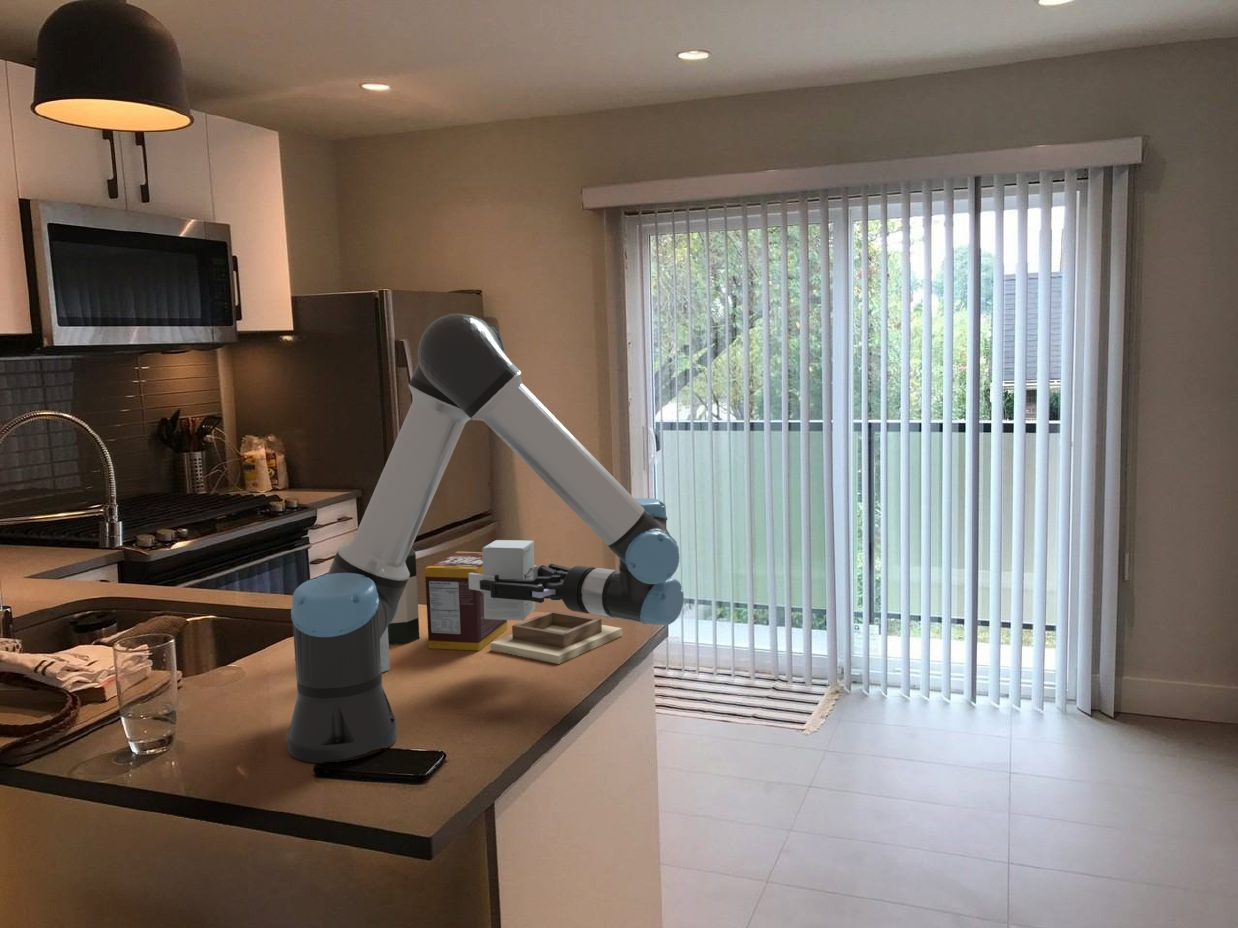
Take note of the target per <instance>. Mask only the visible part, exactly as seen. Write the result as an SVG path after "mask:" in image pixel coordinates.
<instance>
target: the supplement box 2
mask: <svg viewBox="0 0 1238 928" xmlns="http://www.w3.org/2000/svg"><path fill="white" fill-rule="evenodd" d="M534 541H535V540H528V539H527V540H524V539H523V540H521V539H520V540H519V539H518V540H516V539H515V540H514V539H512V540H510V539H496V540H494V541H492V542H490V543H489V544H487V545H485V546H483V547H482V548H481V549H482V551H481V552H482V556H483V574H484V575H490V576H494V575H499V577H500V579H535V571H534V565H535V548H534V546H535V545H534V544H535V542H534ZM483 592H484V619H495V620H507V621H518V622H523V621H525V620H526V618H527V617H528V616H529V615H531V614H532V613H533V612H534V611H535V610H536V602H534V601H527V600H514V599H502V598H491V592H485V591H483Z"/></svg>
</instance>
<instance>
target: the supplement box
mask: <svg viewBox="0 0 1238 928" xmlns="http://www.w3.org/2000/svg"><path fill="white" fill-rule="evenodd" d="M468 573H477V574H483V556H482V551H481V552H479V551H478V552H477V551H456V552H453V553H452V554H450V555H448V556H446V557H443V558H442V559H439V560H438V561H436V562H433V563H432V564H429V565H428V566H426V567H425V568H424V580H425V581H424V582H425V598H426V599H425V600H426V618H427V638H428V641H427V642H428V648H429V649H434V650H435V649H438V650H441V649H442V650H457V651H474V652H475V651H476V652H479V651H480V650H482V649H484V647H486V646H487V645H488V644H490V643H491V642H493V641H495V639H496V638H498V637H499V636H500V635H501V634H504V632H505V631H507V630H508V620H495V619H484V592H483V591H478V590H472V589H469V576H468Z"/></svg>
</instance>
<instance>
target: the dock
mask: <svg viewBox="0 0 1238 928" xmlns="http://www.w3.org/2000/svg"><path fill="white" fill-rule="evenodd" d="M511 629H512V630H511V632H512V634H508V635H506V636H505V637H501V638H499V639H496V640H492V641H491V642H490V643H489V644H490V651H492V652H496V653H501V654H506V653H507V655H511V654H512V655H511V656H516V655H517V656H516V657H521V656H522V658H525V659H526V658H527V659H531V658H532V660H537V661H542V662H545V663H546V662H547V663H551V664H556V665H560V664H563V663H565V662H567V661H570V660H571V659H574V658H576V657H578V656H580V654H581V655H583V654H584V653H585V654H586V653H587V652H589V650H590V651H592V650H594V649H595V648H598V647H600V646H602V645H605V644H607V643H609V642H611V641H614V640H616V639H619V638H620V637H623V627H617V626H611V625H605V624H602V618H596V617H591V616H584V615H579V614H578V615H577V614H572V613H567V612H562V611H561V612H560V611H554V610H551V611H548V612H544V613H542V614H540V615H538V616H535V617H531V618H530V619H527V620H526V619H525V620H524V621H520V622H519V623H516V624H513V625H511ZM502 652H503V653H502Z"/></svg>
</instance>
